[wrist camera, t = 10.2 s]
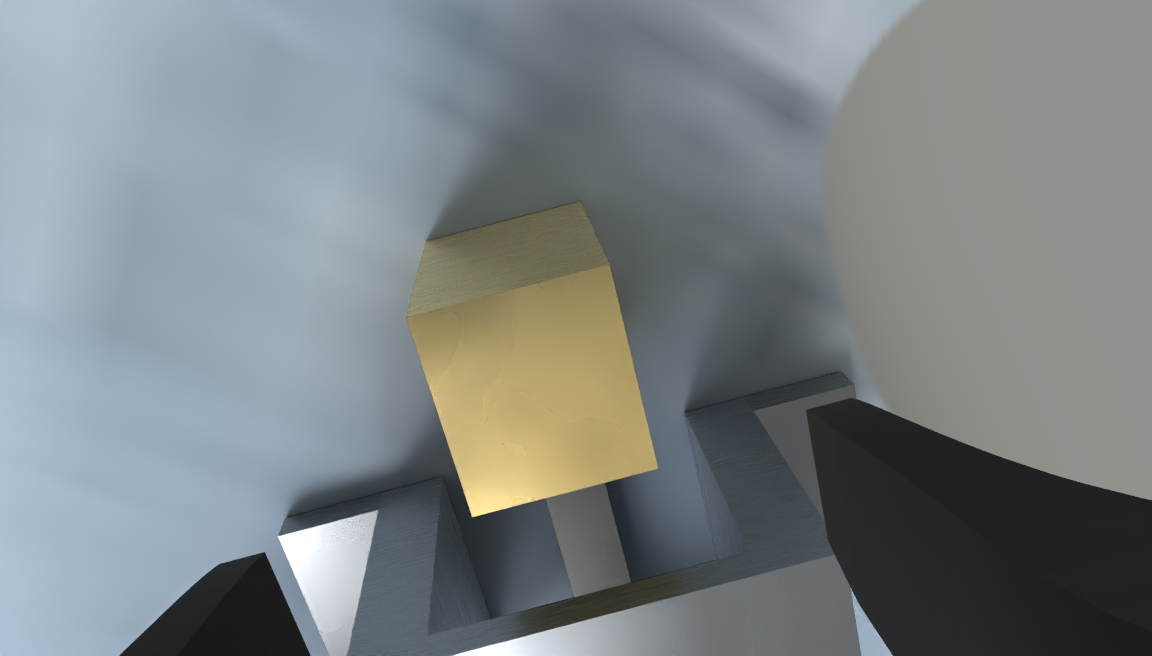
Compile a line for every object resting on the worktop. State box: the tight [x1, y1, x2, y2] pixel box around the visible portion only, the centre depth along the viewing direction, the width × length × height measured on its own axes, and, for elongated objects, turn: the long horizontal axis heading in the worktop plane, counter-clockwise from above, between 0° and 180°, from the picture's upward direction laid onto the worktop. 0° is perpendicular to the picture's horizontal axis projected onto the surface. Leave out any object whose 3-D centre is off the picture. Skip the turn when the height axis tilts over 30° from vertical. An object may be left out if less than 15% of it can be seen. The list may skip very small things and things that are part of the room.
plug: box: [406, 201, 658, 597], centre depth 20 cm, size 14×4×5 cm, turn 14°
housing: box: [278, 372, 861, 656], centre depth 20 cm, size 5×14×6 cm, turn 104°
